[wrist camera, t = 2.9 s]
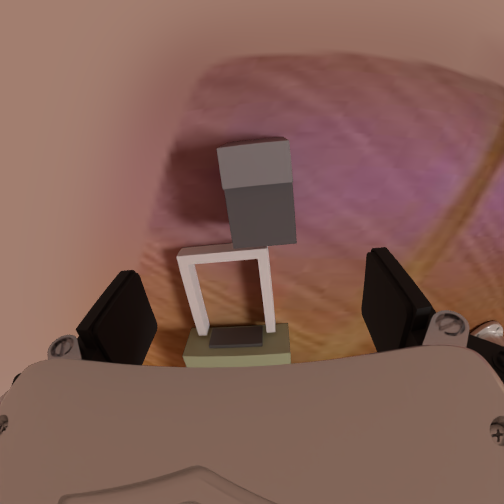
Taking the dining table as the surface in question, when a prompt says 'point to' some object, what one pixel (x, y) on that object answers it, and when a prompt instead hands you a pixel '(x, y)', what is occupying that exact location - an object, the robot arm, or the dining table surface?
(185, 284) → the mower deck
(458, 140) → the dining table surface
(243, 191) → the grey block
